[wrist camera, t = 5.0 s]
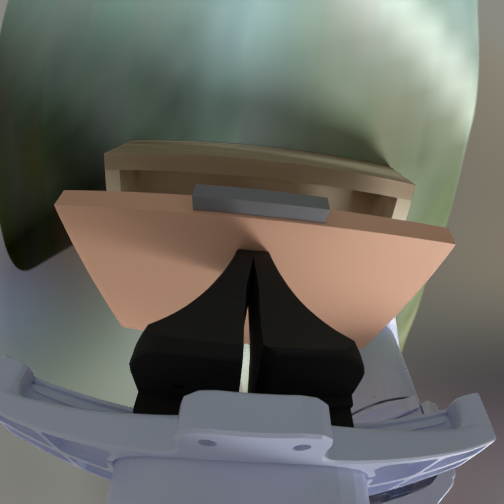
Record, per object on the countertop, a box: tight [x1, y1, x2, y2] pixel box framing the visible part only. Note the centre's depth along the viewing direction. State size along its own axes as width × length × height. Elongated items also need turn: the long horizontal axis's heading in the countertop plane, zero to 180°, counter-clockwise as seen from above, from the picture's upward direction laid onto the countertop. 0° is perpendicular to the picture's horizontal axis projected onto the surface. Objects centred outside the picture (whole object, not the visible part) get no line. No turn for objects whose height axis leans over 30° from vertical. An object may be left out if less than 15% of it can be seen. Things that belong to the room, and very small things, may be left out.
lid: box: [54, 184, 455, 349], centre depth 16 cm, size 13×18×1 cm
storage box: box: [104, 140, 416, 221], centre depth 20 cm, size 12×18×4 cm, turn 85°
